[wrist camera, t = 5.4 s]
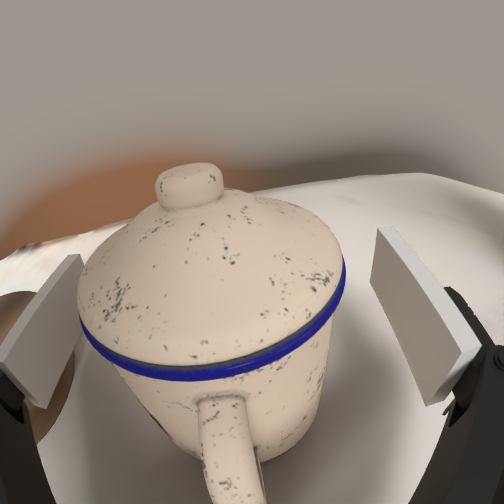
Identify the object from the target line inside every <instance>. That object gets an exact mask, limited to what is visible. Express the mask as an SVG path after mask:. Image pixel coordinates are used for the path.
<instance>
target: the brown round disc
mask: <svg viewBox="0 0 504 504" xmlns="http://www.w3.org/2000/svg"><path fill="white" fill-rule="evenodd" d="M36 294H37V293H36V292H31V291H18V292H13V293H9V294H6V295H3V296H0V345H1V344H2V342H3V341H4V339H5V338H6V336H7V335H8V333H9V332H10V330H11V329H12V327H13V326H14V324H15V323H16V321H17V320H18V318H19V317H20V315H21V314H22V313H23V311H24V310H25V308H26V307H27V306H28V304H29V303H30V302H31V300H32V299H33V298H34V296H35V295H36ZM73 372H74V350H73V351H72V353H71V355H70V357H69V359H68V362H67V364H66V366H65V368H64V370H63V372H62V374H61V376H60V379H59V381H58V383H57V385H56V388H55V390H54V392H53V395H52V397H51V399H50V402H49V404H48V406H47V409H44V408H41V407H38V406H35V405H33V404H32V403H31V402H30V401H29V400H28V399H27V398H26V397H25V398H24V402H25V403H26V404H27V407H28V411H29V416H30V421H31V425H32V430H33V434H34V438H35V442H36V444H37V443H38V442H39V441H40V440H41V439H42V438H43V437H44V436H45V435H46V433H47V432H48V431H49V429H50V428H51V426H52V425H53V424H54V422H55V420H56V419H57V417H58V415H59V413H60V412H61V410H62V407H63V405H64V403H65V401H66V398H67V396H68V393H69V390H70V387H71V382H72V378H73Z"/></svg>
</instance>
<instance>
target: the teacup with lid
mask: <svg viewBox="0 0 504 504" xmlns="http://www.w3.org/2000/svg"><path fill="white" fill-rule="evenodd" d="M155 191H156V195H157V199H158V201H157V202H155V203H153V204H152V205H150V206H148V207H147V208H145V209H144V210H143V211H142V212H141V213H139V214H138V215H137V216H136V217H135V218H134V219H133V220H132V221H131V223H129V224H127V225H126V226H124V227H123V228H121V229H119V230H118V231H117V232H115V233H114V234H112V235H111V236H110V237H109V238H107V239H106V240H105V241H104V242H103V243H102V244H101V245H100V246H99V247H98V248H97V249H96V250H95V251H94V253H93V254H92V255H91V256H90V258H89V259H88V261H87V262H86V264H85V266H84V268H83V270H82V273H81V276H80V278H79V283H78V288H77V306H78V312H79V320H80V323H81V326H82V329H83V331H84V333H85V335H86V337H87V339H88V340H89V341H90V343H91V344H92V346H93V347H94V348H95V349H96V350H97V351H98V352H99V353H100V354H101V355H102V356H104V357H105V358H106V359H108V360H109V361H110V362H112V364H113V365H114V367H115V368H116V370H117V371H118V373H119V374H120V376H121V377H122V378H123V380H124V381H125V383H126V384H127V385H128V387H129V388H130V390H131V391H132V392H133V394H134V395H135V396H136V398H137V399H138V400H139V401H140V403H141V404H142V405H143V407H144V408H145V409H146V410H147V412H148V413H149V414H150V415H151V417H152V418H153V419H154V420H155V421H156V423H157V424H158V425H159V426H160V427H161V428H162V430H163V431H164V432H165V433H166V434H167V435H168V436H169V438H170V439H171V440H172V441H173V442H174V443H175V444H176V445H177V446H178V447H179V448H181V449H182V450H183V451H185V452H186V453H188V454H190V455H191V456H193V457H195V458H197V459H200V460H201V462H202V468H203V473H204V477H205V481H206V485H207V488H208V491H209V495H210V497H211V500H212V502H213V504H267V500H266V493H265V487H264V481H263V476H262V470H261V465H260V463H261V462H265V461H268V460H270V459H273V458H275V457H277V456H279V455H281V454H283V453H284V452H286V451H287V450H289V449H290V448H291V447H293V446H294V445H295V444H296V443H297V442H298V441H299V440H300V439H301V438H302V437H303V436H304V435H305V433H306V432H307V431H308V429H309V428H310V426H311V425H312V423H313V421H314V419H315V416H316V414H317V411H318V407H319V402H320V397H321V392H322V386H323V381H324V375H325V369H326V363H327V357H328V351H329V344H330V337H331V330H332V323H333V315H334V311H335V309H336V307H337V306H338V304H339V302H340V299H341V297H342V294H343V291H344V286H345V280H346V268H345V262H344V258H343V255H342V252H341V249H340V245H339V243H338V241H337V239H336V237H335V236H334V234H333V232H332V231H331V230H330V228H329V227H328V226H327V225H326V224H325V223H324V222H323V221H322V220H321V219H320V218H318V217H317V216H316V215H314V214H313V213H311V212H309V211H308V210H306V209H304V208H302V207H299V206H297V205H294V204H291V203H288V202H285V201H281V200H277V199H272V198H265V197H258V196H256V195H254V194H251V193H248V192H245V191H242V190H238V189H232V188H224V184H223V176H222V173H221V171H220V170H219V169H218V168H217V167H216V166H215V165H213V164H210V163H192V164H186V165H182V166H178V167H175V168H172V169H169V170H167V171H165V172H163V173H162V174H161V175H160V176H159V177H158V179H157V181H156V184H155Z"/></svg>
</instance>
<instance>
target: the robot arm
mask: <svg viewBox="0 0 504 504" xmlns="http://www.w3.org/2000/svg"><path fill="white" fill-rule="evenodd" d="M83 268H84V263H83V261H82V259H81V256H80V254H73V255H68V256H67V257H66V258H65V259H64V260H63V261H62V263H61V264H60V265H59V266H58V267H57V269H56V270H55V271H54V272H53V273H52V275H51V276H50V277H49V278H48V280H47V281H46V282H45V283H44V285H43V286H42V287H41V288H40V290H39V291H38V292H37V294H36V295H35V296H34V298H33V299H32V300H31V302H30V303H29V304H28V306H27V307H26V308H25V310H24V311H23V313H22V314H21V315H20V317H19V318H18V320H17V321H16V323H15V324H14V326H13V327H12V329H11V330H10V332H9V333H8V335H7V336H6V338H5V339H4V341H3V342H2V344H1V345H0V504H56V502H55V499H54V497H53V494H52V492H51V489H50V486H49V484H48V481H47V478H46V475H45V472H44V469H43V466H42V463H41V460H40V456H39V453H38V449H37V446H36V442H35V438H34V434H33V430H32V425H31V421H30V416H29V411H28V407H27V404H26V403H25V402H24V398H25V397H26V398H27V399H28V400H29V401H30V402H31V403H32V404H33V405H35V406H38V407H41V408H44V409H47V406H48V404H49V402H50V399H51V397H52V395H53V392H54V390H55V388H56V385H57V383H58V381H59V379H60V376H61V374H62V372H63V370H64V368H65V366H66V364H67V362H68V359H69V357H70V355H71V353H72V351H73V349H74V347H75V345H76V343H77V341H78V339H79V337H80V336H81V334H82V332H83V329H82V326H81V323H80V320H79V312H78V306H77V288H78V283H79V278H80V276H81V273H82V270H83ZM370 283H371V285H372V287H373V289H374V291H375V293H376V295H377V297H378V299H379V301H380V303H381V305H382V307H383V309H384V311H385V313H386V315H387V317H388V320H389V322H390V324H391V326H392V328H393V330H394V332H395V334H396V337H397V339H398V341H399V343H400V345H401V348H402V350H403V352H404V355H405V357H406V359H407V361H408V364H409V366H410V369H411V371H412V373H413V376H414V378H415V381H416V383H417V386H418V388H419V391H420V393H421V396H422V399H423V401H424V404H425V407H426V406H429V405H432V404H435V403H438V402H440V401H443V400H445V399H446V397H447V396H448V395H449V393H450V392H451V391H453V394H454V396H455V398H454V399H453V401H452V402H451V403H450V404H449V406H448V407H447V408H446V409H445V411H444V412H443V414H442V415H444V416H445V415H446V414H447V412H448V411H449V413H448V416H447V419H446V422H445V425H444V427H443V430H442V433H441V435H440V438H439V441H438V443H437V446H436V448H435V450H434V453H433V455H432V457H431V460H430V462H429V464H428V466H427V468H426V471H425V473H424V475H423V477H422V479H421V481H420V483H419V485H418V487H417V489H416V490H415V492H414V494H413V496H412V498H411V500H410V501H409V503H408V504H504V346H502V345H495V344H494V343H493V341H492V339H491V338H490V336H489V335H488V333H487V332H486V330H485V329H484V327H483V326H482V324H481V323H480V321H479V320H478V318H477V317H476V315H474V314H473V311H472V310H471V308H470V307H468V304H467V303H466V301H465V300H464V299H463V297H462V296H461V295H460V294H459V293H458V292H456V291H455V290H454V289H452V288H451V287H444V288H443V287H442V286H441V284H440V283H439V282H438V280H437V279H436V278H435V276H434V275H433V274H432V272H431V271H430V270H429V269H428V267H427V266H426V265H425V264H424V262H423V261H422V260H421V259H420V257H419V256H418V255H417V254H416V252H415V251H414V250H413V249H412V248H411V246H410V245H409V244H408V243H407V242H406V240H405V239H404V238H403V237H402V236H401V235H400V234H399V232H398V231H397V230H396V229H395V228H394V227H384V228H378V229H377V237H376V245H375V252H374V259H373V265H372V271H371V277H370Z"/></svg>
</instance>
